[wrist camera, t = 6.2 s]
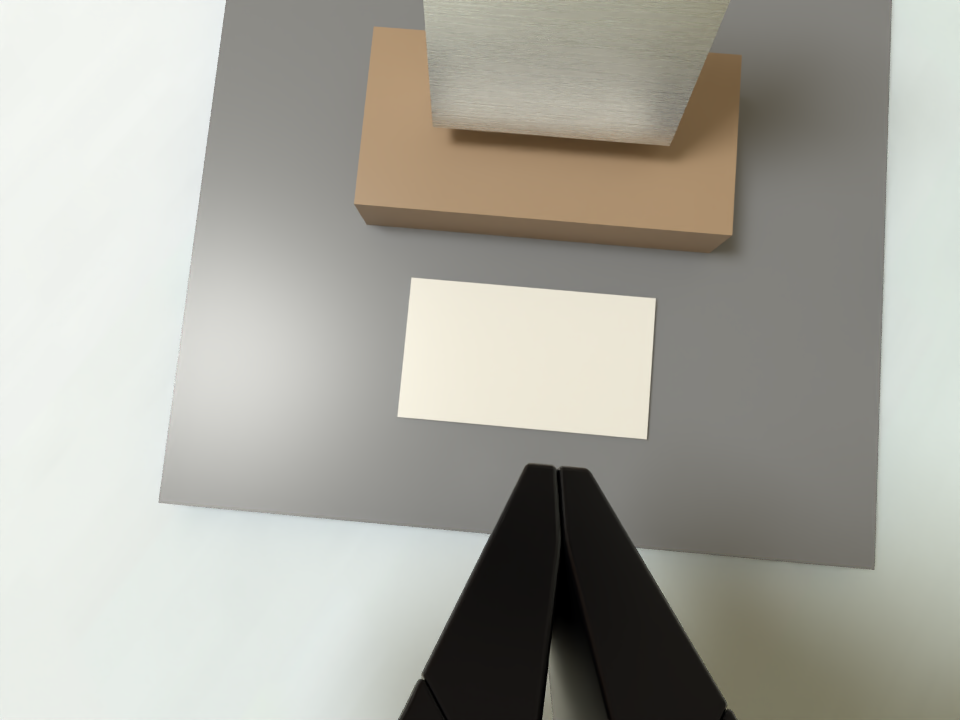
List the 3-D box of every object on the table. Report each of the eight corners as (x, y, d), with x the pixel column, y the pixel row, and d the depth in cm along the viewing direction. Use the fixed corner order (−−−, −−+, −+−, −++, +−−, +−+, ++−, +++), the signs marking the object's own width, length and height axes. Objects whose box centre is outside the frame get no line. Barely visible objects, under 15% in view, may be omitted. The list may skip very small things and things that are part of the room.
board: (854, 562, 19) (916, 585, 16) (175, 498, 20) (122, 511, 17) (873, -18, 21) (933, -86, 18) (249, -65, 21) (213, -139, 18)
